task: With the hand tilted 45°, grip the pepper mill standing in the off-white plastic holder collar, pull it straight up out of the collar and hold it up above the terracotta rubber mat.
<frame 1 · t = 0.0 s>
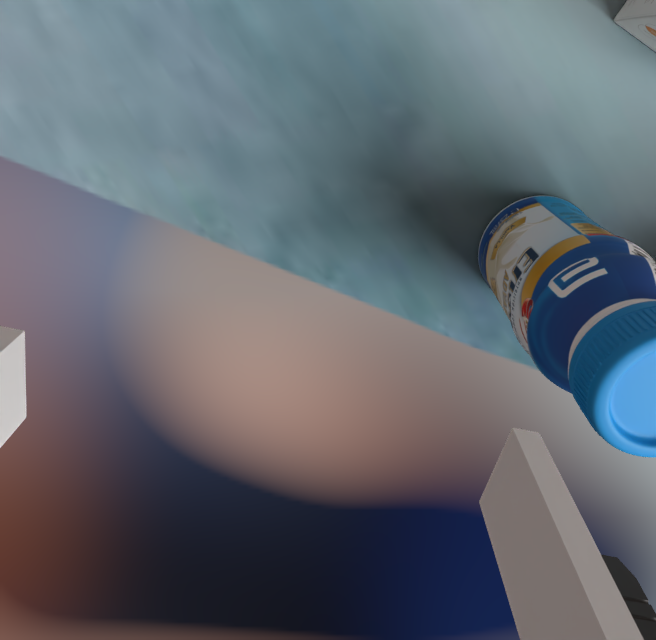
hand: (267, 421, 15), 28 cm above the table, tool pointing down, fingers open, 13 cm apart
beverage bottle: (530, 247, 42), on the table
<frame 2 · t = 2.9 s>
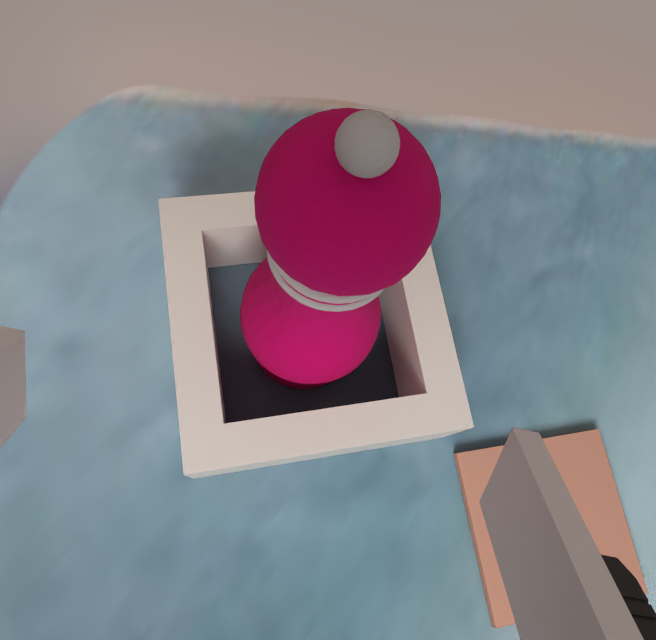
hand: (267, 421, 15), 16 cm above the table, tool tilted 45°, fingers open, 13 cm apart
holder collar: (303, 337, 33), on the table
rubber mat: (546, 521, 32), on the table
pepper mill: (302, 338, 33), resting in holder collar
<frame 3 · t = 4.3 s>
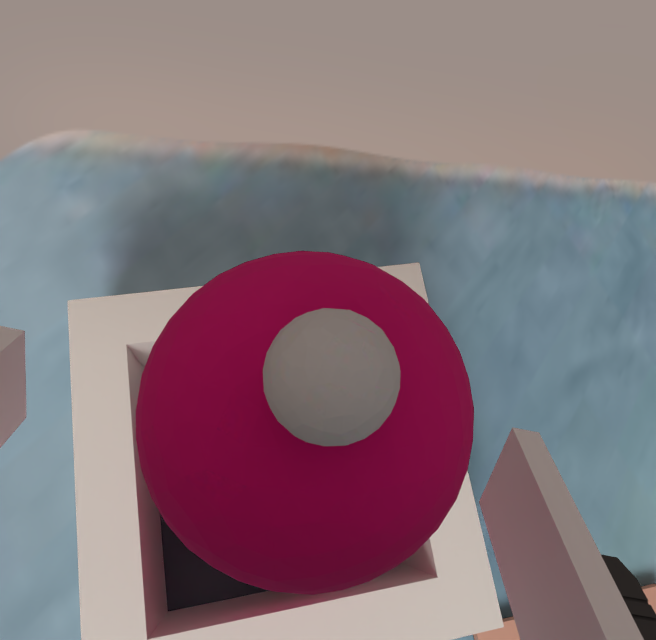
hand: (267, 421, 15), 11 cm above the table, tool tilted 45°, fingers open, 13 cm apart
holder collar: (272, 466, 25), on the table
pepper mill: (272, 466, 26), resting in holder collar
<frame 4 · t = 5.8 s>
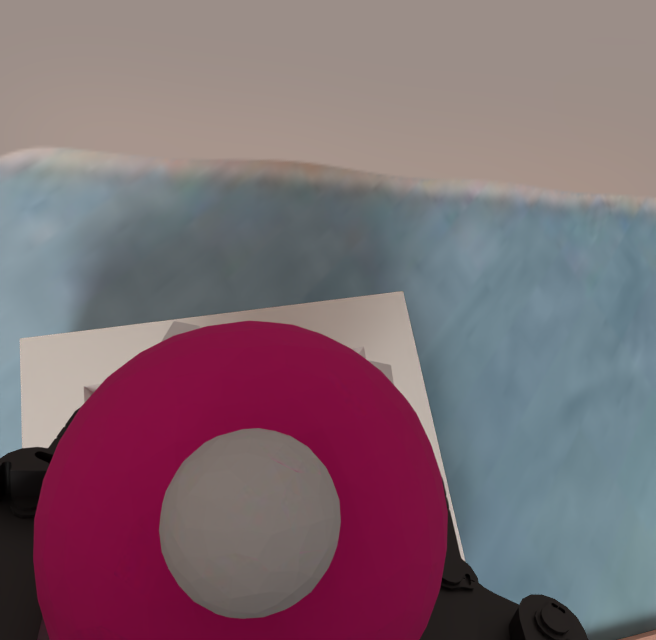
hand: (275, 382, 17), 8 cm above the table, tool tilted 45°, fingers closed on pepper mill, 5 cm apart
holder collar: (248, 508, 24), on the table
pepper mill: (248, 508, 24), resting in holder collar, touching gripper
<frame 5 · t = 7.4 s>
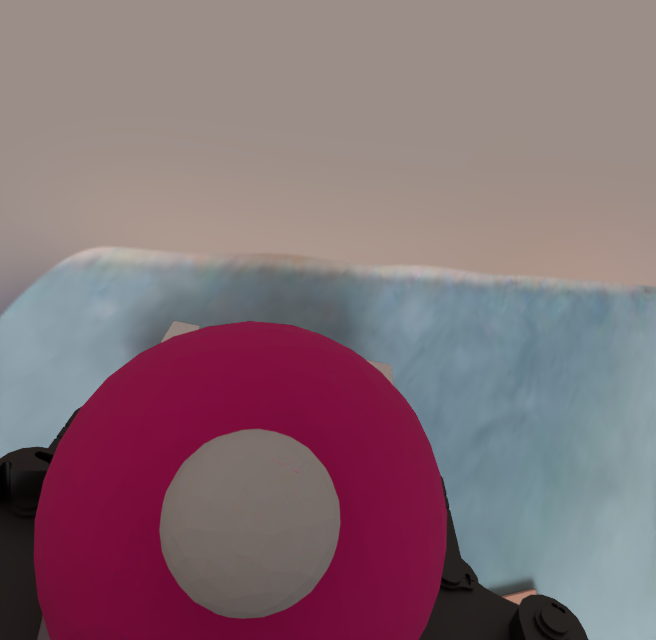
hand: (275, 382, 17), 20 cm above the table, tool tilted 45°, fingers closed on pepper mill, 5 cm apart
pepper mill: (248, 508, 24), point 11 cm above the table, touching gripper
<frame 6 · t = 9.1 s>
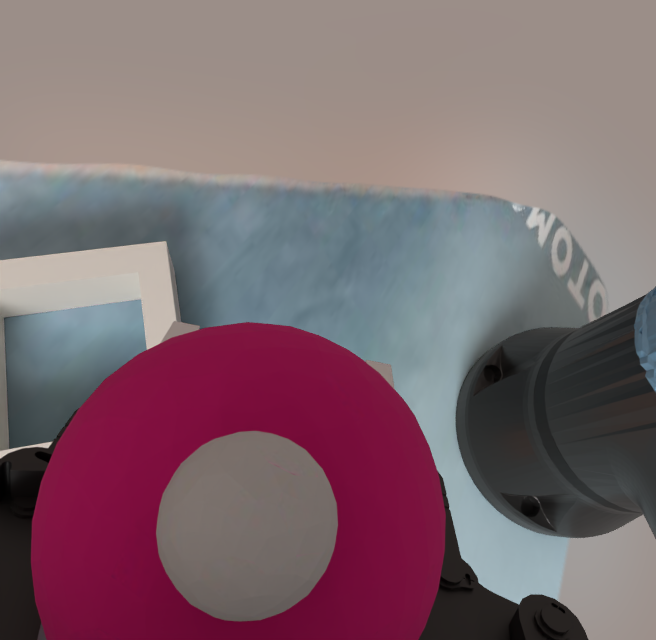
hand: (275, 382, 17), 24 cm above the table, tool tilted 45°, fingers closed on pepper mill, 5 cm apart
holder collar: (84, 374, 39), on the table
pepper mill: (247, 509, 24), point 15 cm above the table, touching gripper
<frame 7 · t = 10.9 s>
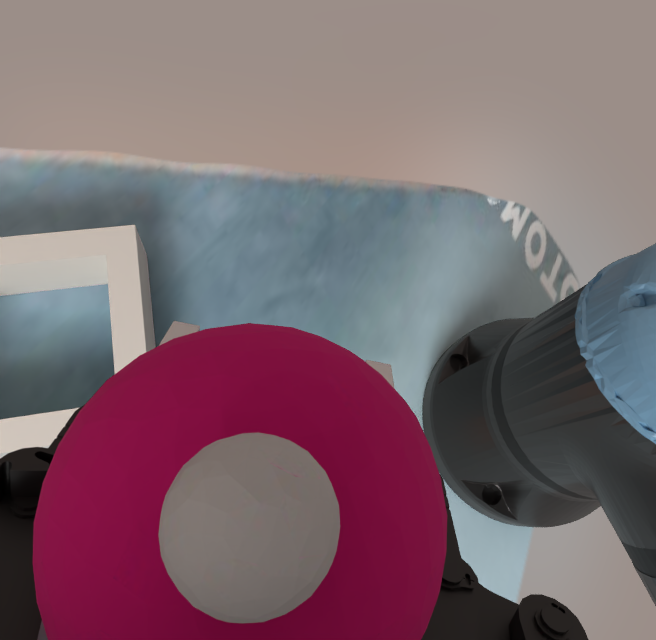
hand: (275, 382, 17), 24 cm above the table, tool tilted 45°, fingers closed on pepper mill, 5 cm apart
holder collar: (53, 355, 40), on the table
pepper mill: (248, 510, 24), point 16 cm above the table, touching gripper
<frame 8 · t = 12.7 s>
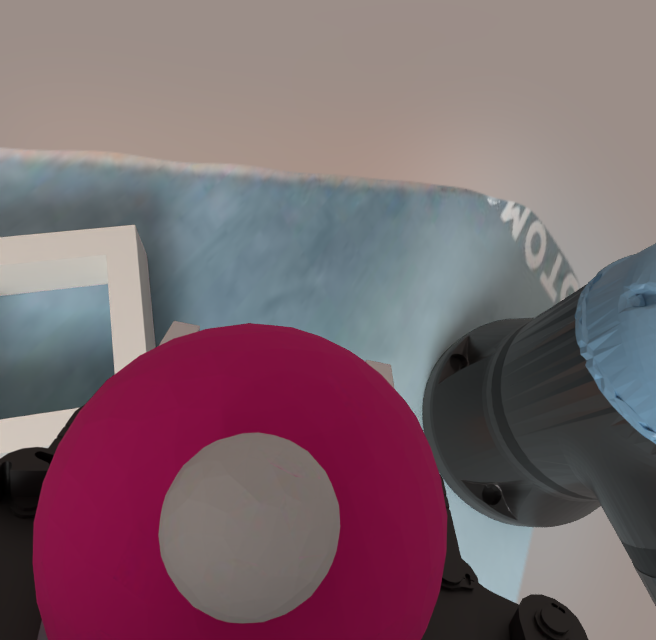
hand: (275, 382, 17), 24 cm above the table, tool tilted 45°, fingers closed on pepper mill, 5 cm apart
holder collar: (53, 355, 40), on the table
pepper mill: (248, 510, 24), point 16 cm above the table, touching gripper
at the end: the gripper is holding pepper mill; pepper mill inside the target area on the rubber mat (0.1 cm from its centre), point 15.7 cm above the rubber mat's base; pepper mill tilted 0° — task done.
